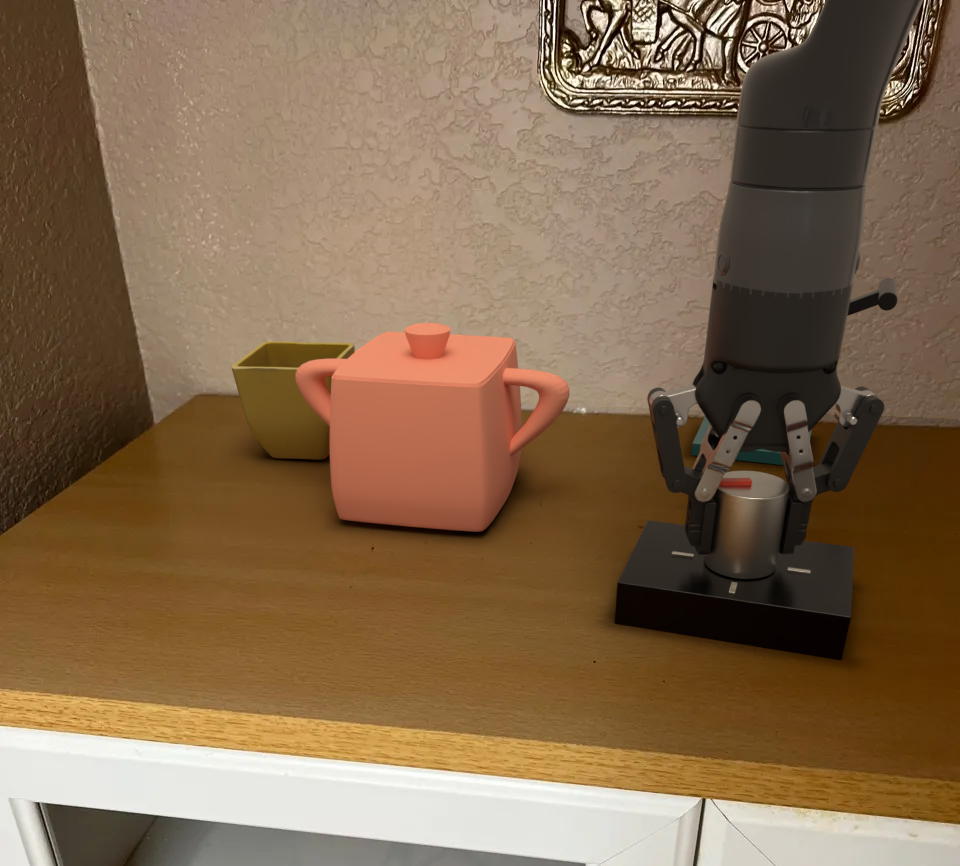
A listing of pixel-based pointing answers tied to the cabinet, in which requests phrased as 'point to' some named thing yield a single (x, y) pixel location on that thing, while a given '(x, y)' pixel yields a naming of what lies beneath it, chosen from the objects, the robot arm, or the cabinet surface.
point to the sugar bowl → (428, 425)
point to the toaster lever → (876, 298)
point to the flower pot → (285, 397)
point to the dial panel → (739, 595)
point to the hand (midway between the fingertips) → (741, 548)
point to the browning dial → (747, 524)
